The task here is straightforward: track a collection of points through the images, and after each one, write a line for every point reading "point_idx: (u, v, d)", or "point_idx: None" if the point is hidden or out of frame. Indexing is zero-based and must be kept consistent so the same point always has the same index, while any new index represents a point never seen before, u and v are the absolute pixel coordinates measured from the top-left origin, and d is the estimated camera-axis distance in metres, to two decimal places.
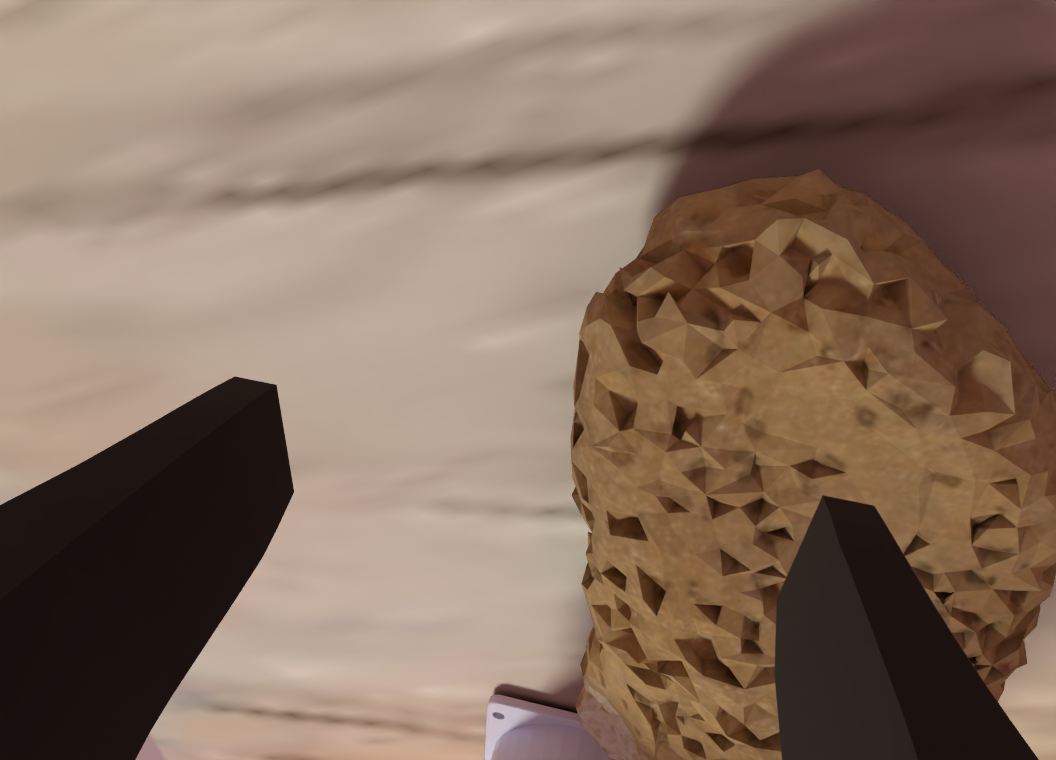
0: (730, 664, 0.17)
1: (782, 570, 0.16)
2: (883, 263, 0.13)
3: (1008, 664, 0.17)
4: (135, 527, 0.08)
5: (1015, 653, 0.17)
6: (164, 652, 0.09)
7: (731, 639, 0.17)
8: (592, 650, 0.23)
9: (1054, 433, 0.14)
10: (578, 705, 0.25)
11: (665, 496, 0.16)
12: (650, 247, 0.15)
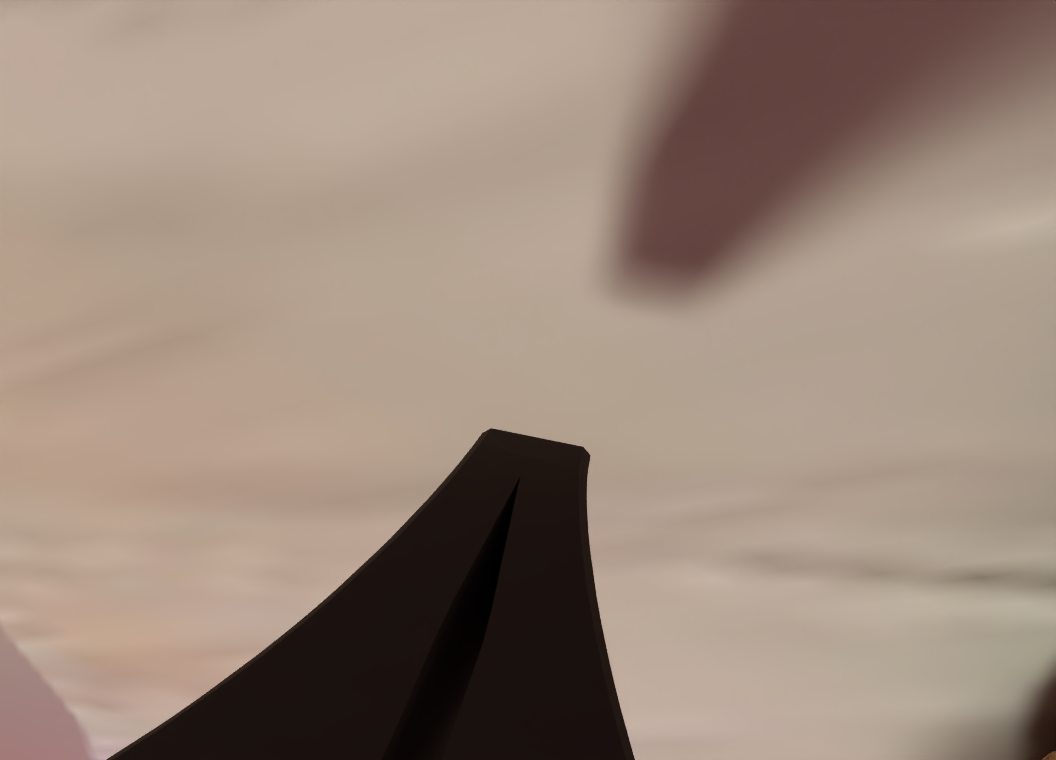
0: None
1: None
2: None
3: None
4: (464, 603, 0.07)
5: None
6: None
7: None
8: None
9: None
10: None
11: None
12: None
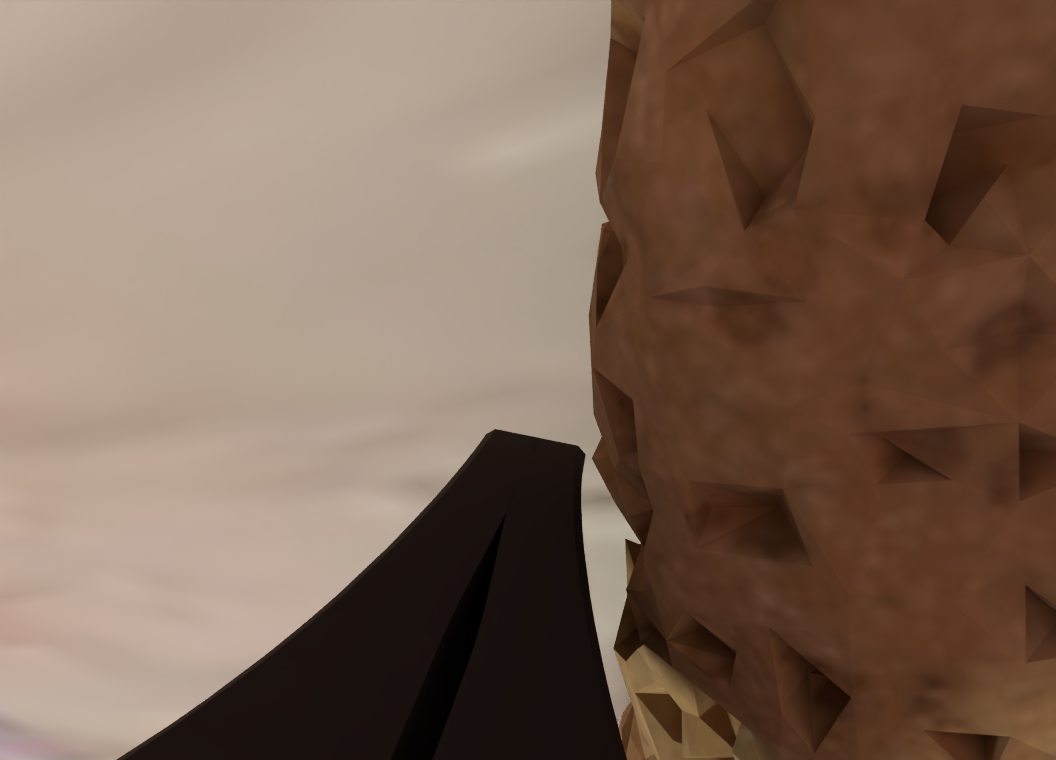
0: None
1: None
2: None
3: None
4: (471, 604, 0.07)
5: None
6: None
7: None
8: (629, 755, 0.13)
9: None
10: None
11: (876, 434, 0.05)
12: None
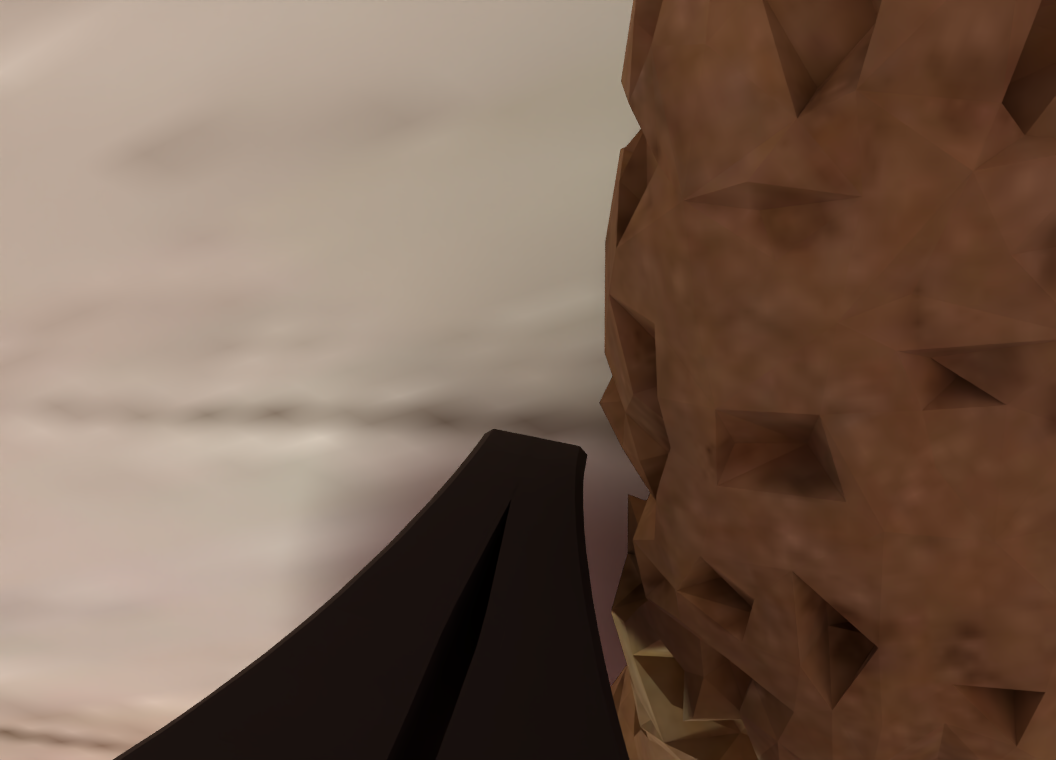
0: None
1: None
2: None
3: None
4: (469, 604, 0.07)
5: None
6: None
7: None
8: None
9: None
10: None
11: (926, 353, 0.05)
12: None
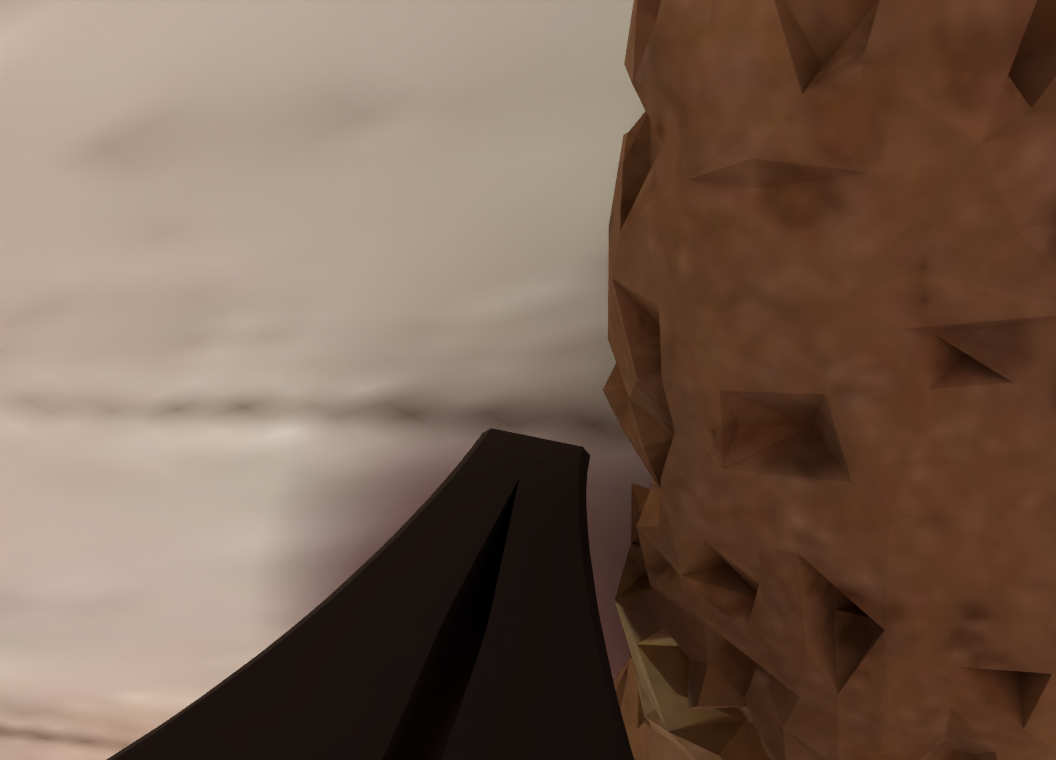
0: None
1: None
2: None
3: None
4: (464, 603, 0.07)
5: None
6: None
7: None
8: None
9: None
10: None
11: (932, 331, 0.05)
12: None
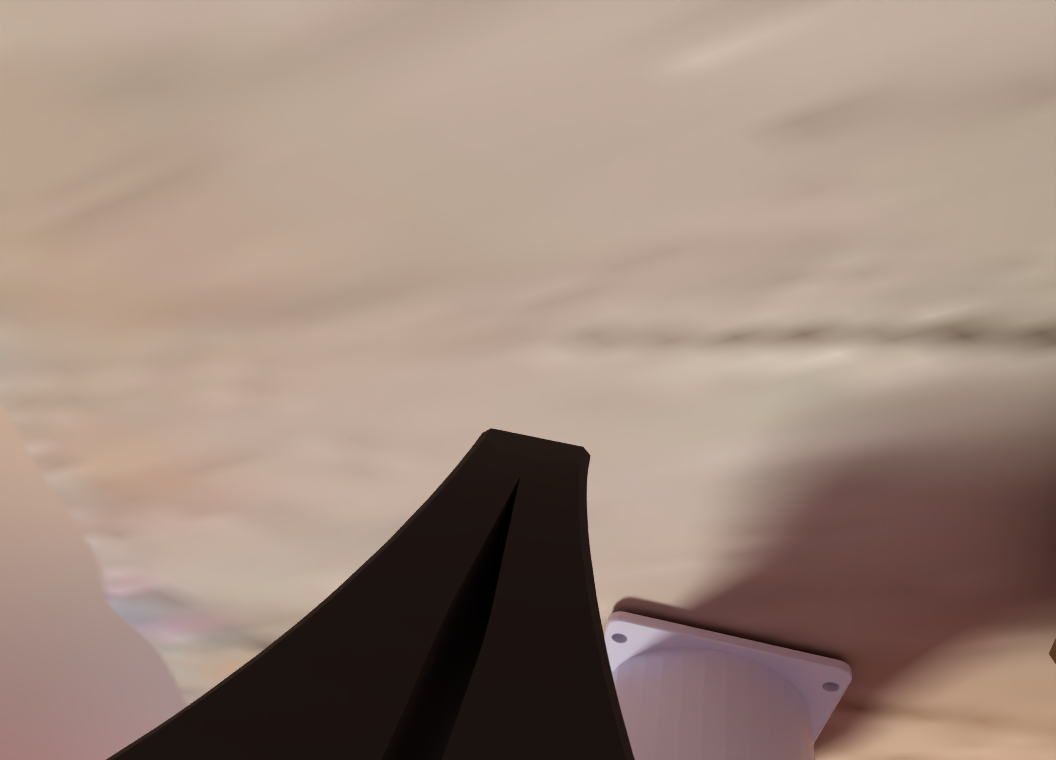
0: None
1: None
2: None
3: None
4: (465, 603, 0.07)
5: None
6: None
7: None
8: None
9: None
10: None
11: None
12: None
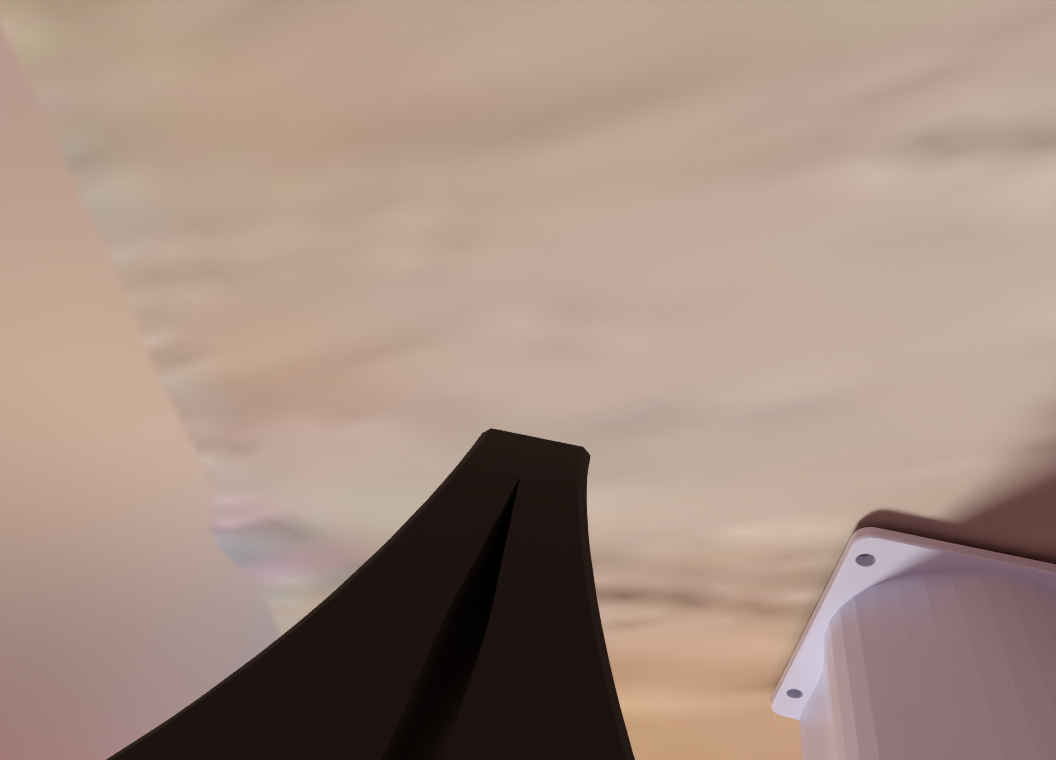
0: None
1: None
2: None
3: None
4: (465, 603, 0.07)
5: None
6: (454, 726, 0.08)
7: None
8: None
9: None
10: None
11: None
12: None
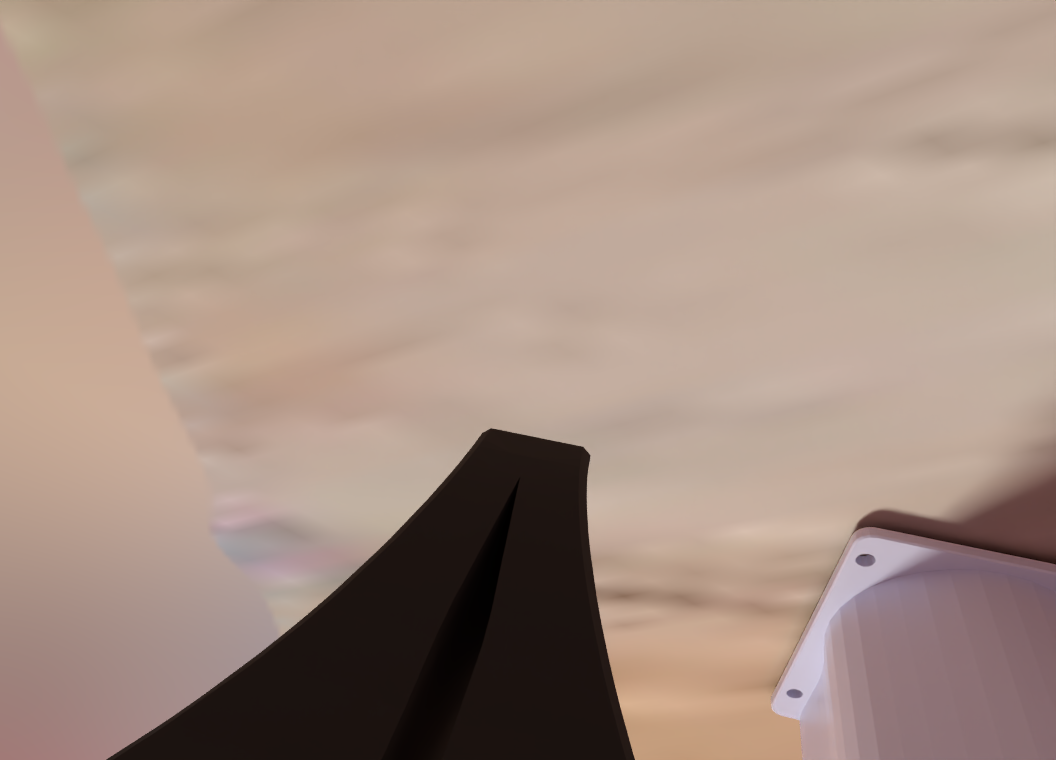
0: None
1: None
2: None
3: None
4: (465, 603, 0.07)
5: None
6: (454, 726, 0.08)
7: None
8: None
9: None
10: None
11: None
12: None
